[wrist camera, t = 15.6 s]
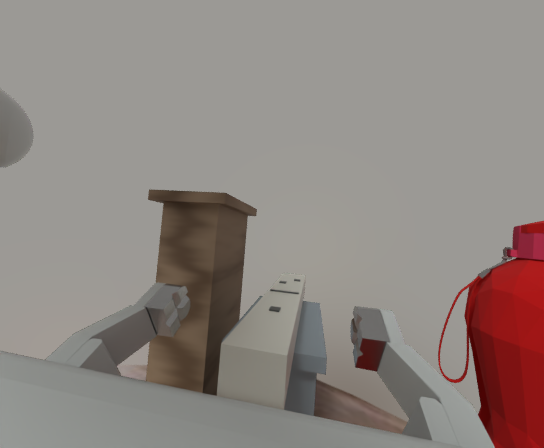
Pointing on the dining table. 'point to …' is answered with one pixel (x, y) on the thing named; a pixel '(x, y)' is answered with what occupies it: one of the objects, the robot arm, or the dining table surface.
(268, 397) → the domino bar
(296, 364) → the slate stand
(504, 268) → the water bottle
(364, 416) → the dining table surface
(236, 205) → the walnut pedestal
